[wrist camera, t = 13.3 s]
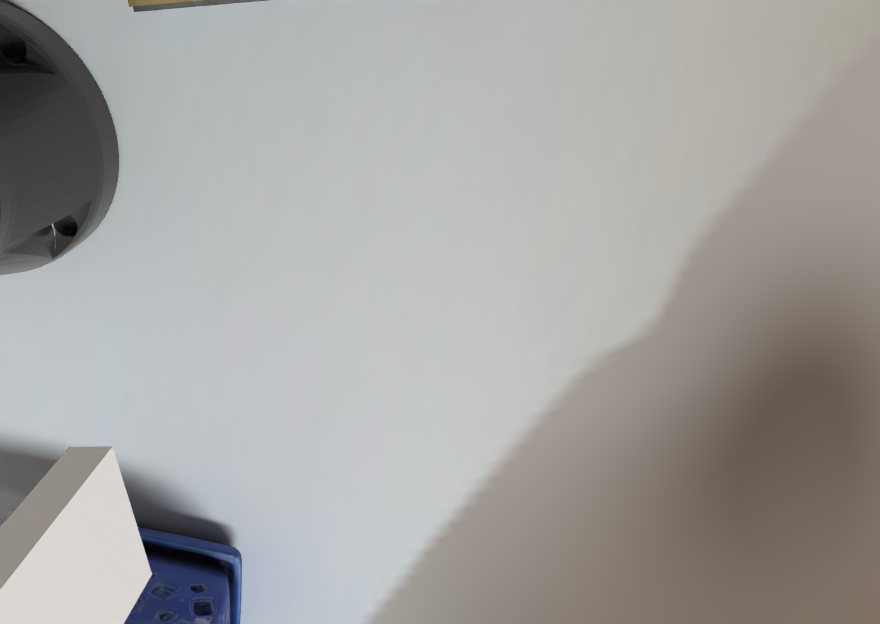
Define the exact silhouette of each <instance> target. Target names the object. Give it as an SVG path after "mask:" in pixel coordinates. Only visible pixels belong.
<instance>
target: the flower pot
mask: <svg viewBox="0 0 880 624" xmlns="http://www.w3.org/2000/svg"><path fill="white" fill-rule="evenodd" d="M138 530H139V534H140V537H141V540H142V543H143V546H144V550H145V553H146V556H147V559H148V563H149V566H150V569H151V572H152V575H151V577H150V579H149V580H148V582H147V584H146V586H145V587H144V589H143V591H142V593H141V594H140V596H139V598H138V600H137V601H136V603H135V605H134V607H133V608H132V610H131V612H130V614H129V615H128V617H127V619H126V621H125V622H124V624H240V613H241V584H242V559H241V554H240V552H239V551H238V550H237V549H236V548H234V547H232V546H229V545H224V544H220V543H215V542H211V541H206V540H201V539H196V538H192V537H187V536H182V535H177V534H172V533H167V532H162V531H157V530H151V529H146V528H141V527H138Z"/></svg>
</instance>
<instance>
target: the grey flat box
mask: <svg viewBox="0 0 880 624" xmlns="http://www.w3.org/2000/svg"><path fill="white" fill-rule="evenodd" d="M254 1H266V0H128V3H129V7H131V6H133V9H134V12H138V11H150V10H161V9H173V8H184V7H196V6H208V5H219V4H231V3H242V2H254Z"/></svg>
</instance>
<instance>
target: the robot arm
mask: <svg viewBox="0 0 880 624" xmlns="http://www.w3.org/2000/svg"><path fill="white" fill-rule="evenodd" d="M118 172H119V152H118V143H117V136H116V132H115V127H114V124H113V120H112V117H111V114H110V111H109V108H108V106H107V104H106V101H105V99H104V97H103V95H102V93H101V91H100V89H99V87H98V85H97V83H96V82H95V80H94V78H93V77H92V75H91V74H90V72H89V71H88V69H87V68H86V66H85V65H84V64H83V62H82V61H81V60H80V59H79V57H78V56H77V55H76V54H75V53H74V52H73V50H72V49H71V48H70V47H69V46H68V45H67V44H66V43H65V42H64V41H63V40H62V39H61V38H60V37H59V36H58V35H56V34H55V33H54V32H53V31H52V30H51V29H49V28H48V27H47V26H46V25H44V24H43V23H41V22H40V21H39V20H37V19H36V18H34V17H33V16H31V15H29V14H28V13H26V12H24V11H23V10H21V9H19V8H17V7H15V6H13V5H10V4H8V3H6V2H4V1H1V0H0V275H5V274H11V273H18V272H24V271H28V270H32V269H35V268H38V267H41V266H44V265H46V264H48V263H50V262H53V261H55V260H56V259H58V258H60V257H61V256H63V255H64V254H66V253H67V252H69V251H70V250H71V249H73V248H74V247H76V246H77V245H78V244H80V243H81V242H82V241H84V240H85V239H86V238H87V237H88V236H90V235H91V234H92V233H93V232H94V230H95V229H96V228H97V227H98V226H99V224H100V223H101V222H102V220H103V219H104V217H105V215H106V213H107V212H108V210H109V207H110V205H111V203H112V200H113V197H114V194H115V190H116V186H117V180H118ZM151 575H152V572H151V569H150V566H149V563H148V559H147V556H146V553H145V550H144V546H143V543H142V540H141V537H140V534H139V530H138V527H137V524H136V521H135V517H134V514H133V511H132V508H131V504H130V501H129V498H128V495H127V491H126V488H125V485H124V482H123V479H122V475H121V472H120V469H119V466H118V462H117V459H116V456H115V453H114V449H113V446H112V447H69V448H68V449H67V450H66V451H65V453H64V454H63V455H62V456H61V457H60V458H59V460H58V461H57V462H56V463H55V464H54V465H53V466H52V468H51V469H50V470H49V471H48V472H47V473H46V475H45V476H44V477H43V478H42V479H41V480H40V482H39V483H38V484H37V485H36V486H35V487H34V488H33V490H32V491H31V492H30V493H29V494H28V495H27V497H26V498H25V499H24V500H23V501H22V502H21V503H20V505H19V506H18V507H17V508H16V509H15V510H14V512H13V513H12V514H11V515H10V516H9V517H8V518H7V520H6V521H5V522H4V523H3V524H2V525H1V527H0V624H124V622H125V621H126V619H127V617H128V615H129V614H130V612H131V610H132V608H133V607H134V605H135V603H136V601H137V600H138V598H139V596H140V594H141V593H142V591H143V589H144V587H145V586H146V584H147V582H148V580H149V579H150V577H151Z"/></svg>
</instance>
